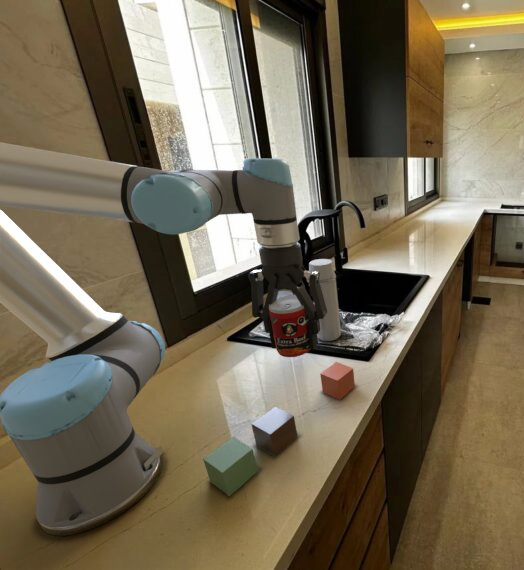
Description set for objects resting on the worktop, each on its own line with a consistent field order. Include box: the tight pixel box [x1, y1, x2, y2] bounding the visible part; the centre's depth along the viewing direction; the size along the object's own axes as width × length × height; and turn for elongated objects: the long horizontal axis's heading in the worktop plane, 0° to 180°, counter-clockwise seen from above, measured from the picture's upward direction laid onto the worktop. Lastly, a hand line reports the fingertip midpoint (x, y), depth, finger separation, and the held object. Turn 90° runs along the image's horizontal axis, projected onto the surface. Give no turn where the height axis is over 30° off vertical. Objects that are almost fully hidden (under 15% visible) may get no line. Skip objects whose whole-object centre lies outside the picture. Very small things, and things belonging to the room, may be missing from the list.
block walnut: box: [250, 405, 298, 457], centre depth 65 cm, size 6×6×6 cm
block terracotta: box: [320, 361, 356, 400], centre depth 80 cm, size 6×6×6 cm
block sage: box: [202, 436, 259, 497], centre depth 57 cm, size 6×6×6 cm
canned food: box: [269, 295, 312, 358], centre depth 70 cm, size 8×8×11 cm
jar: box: [277, 290, 294, 299], centre depth 107 cm, size 9×8×12 cm
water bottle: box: [308, 258, 342, 342], centre depth 99 cm, size 9×8×25 cm
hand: (295, 345), depth 71 cm, fingers closed on canned food, 8 cm apart
